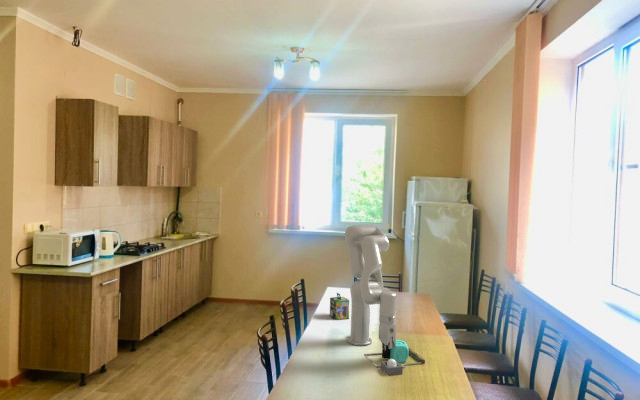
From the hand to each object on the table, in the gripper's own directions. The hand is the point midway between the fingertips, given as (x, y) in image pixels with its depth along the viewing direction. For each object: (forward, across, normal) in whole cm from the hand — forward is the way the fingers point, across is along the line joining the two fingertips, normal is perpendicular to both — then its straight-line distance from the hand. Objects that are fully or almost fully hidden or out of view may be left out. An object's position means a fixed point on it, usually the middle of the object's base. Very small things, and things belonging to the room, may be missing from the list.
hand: (385, 357), depth 206 cm
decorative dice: (+1, 0, -6) cm, 6 cm away
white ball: (0, -12, +2) cm, 12 cm away
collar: (+1, -12, +2) cm, 12 cm away
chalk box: (+1, +66, +1) cm, 66 cm away
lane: (+1, 0, -4) cm, 4 cm away
